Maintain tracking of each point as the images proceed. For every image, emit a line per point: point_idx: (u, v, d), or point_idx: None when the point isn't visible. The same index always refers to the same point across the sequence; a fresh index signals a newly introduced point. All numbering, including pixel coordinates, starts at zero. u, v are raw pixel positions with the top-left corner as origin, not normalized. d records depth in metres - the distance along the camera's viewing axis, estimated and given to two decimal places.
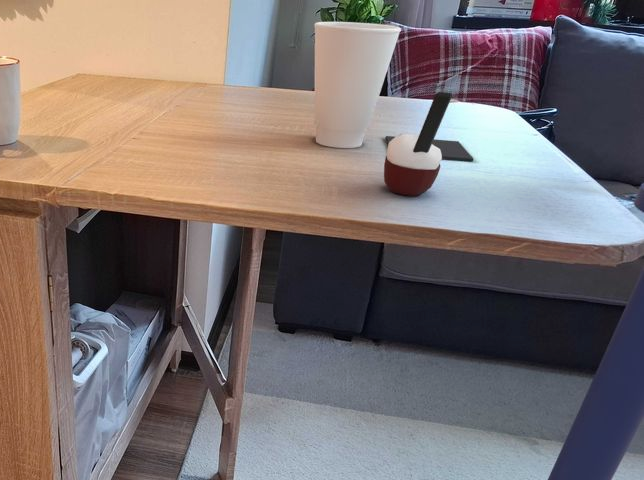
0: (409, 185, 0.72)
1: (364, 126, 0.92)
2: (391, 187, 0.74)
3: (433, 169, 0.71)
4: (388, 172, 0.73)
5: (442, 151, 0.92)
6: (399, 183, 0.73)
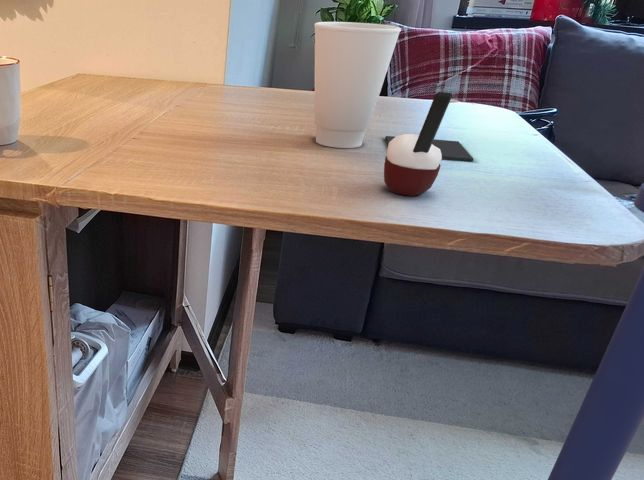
0: (409, 185, 0.72)
1: (364, 126, 0.92)
2: (391, 187, 0.74)
3: (433, 169, 0.71)
4: (388, 172, 0.73)
5: (442, 151, 0.92)
6: (399, 183, 0.73)
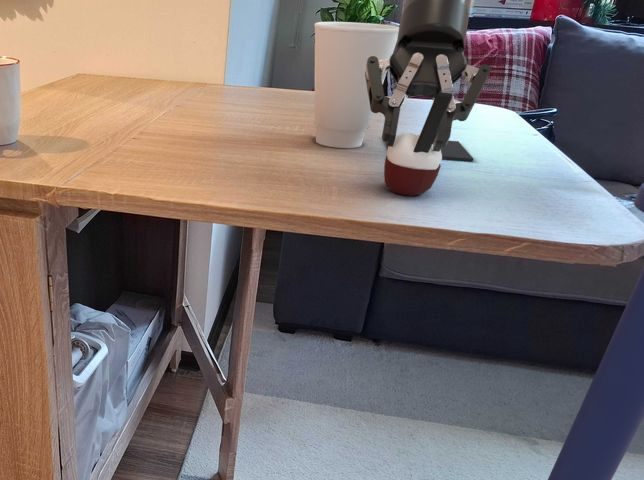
0: (409, 185, 0.72)
1: (364, 126, 0.92)
2: (391, 187, 0.74)
3: (433, 169, 0.71)
4: (389, 172, 0.73)
5: (442, 151, 0.92)
6: (399, 183, 0.73)
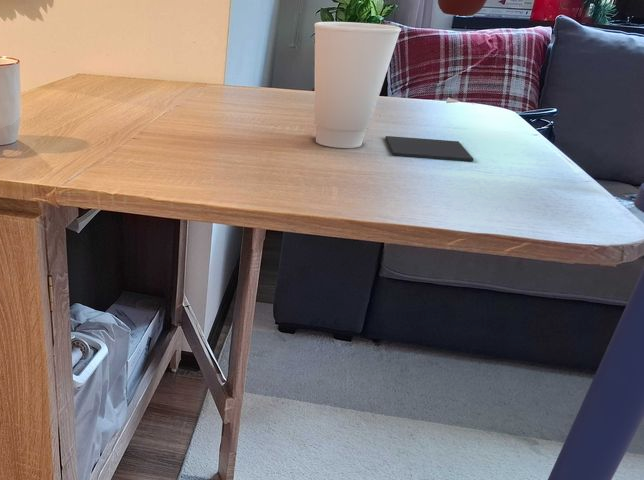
0: (464, 2, 0.77)
1: (364, 126, 0.92)
2: (446, 8, 0.79)
3: None
4: None
5: (442, 151, 0.92)
6: (454, 1, 0.78)
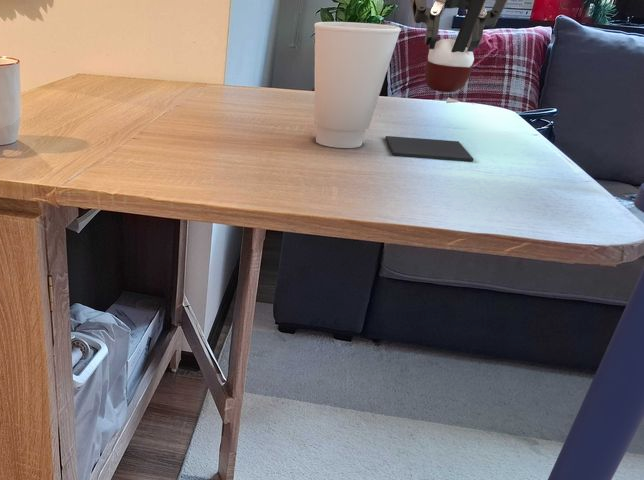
0: (447, 81, 0.88)
1: (364, 126, 0.92)
2: (432, 85, 0.89)
3: (468, 67, 0.87)
4: (430, 71, 0.88)
5: (442, 151, 0.92)
6: (439, 80, 0.88)
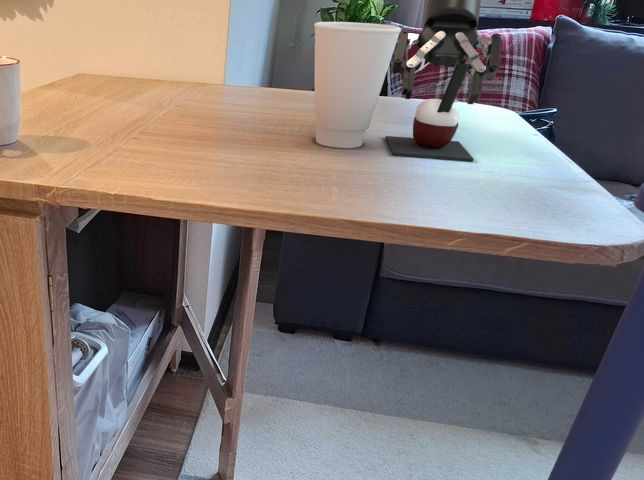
0: (433, 139, 0.92)
1: (364, 126, 0.92)
2: (419, 141, 0.93)
3: (453, 126, 0.91)
4: (417, 129, 0.92)
5: (442, 151, 0.92)
6: (425, 137, 0.92)
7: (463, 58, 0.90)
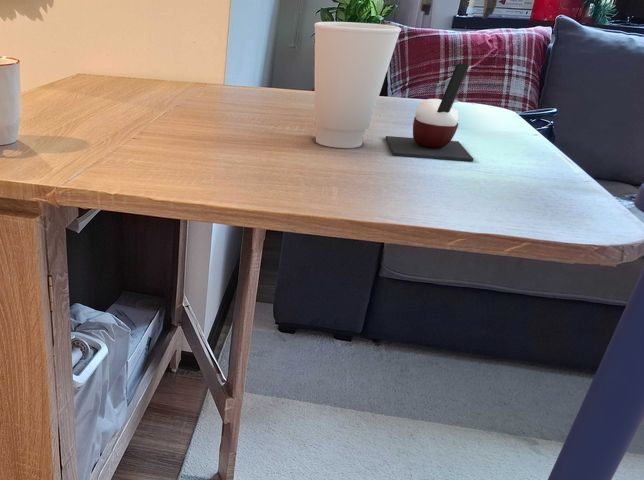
0: (433, 139, 0.92)
1: (364, 126, 0.92)
2: (419, 141, 0.93)
3: (453, 126, 0.91)
4: (417, 129, 0.92)
5: (442, 151, 0.92)
6: (425, 137, 0.92)
7: None
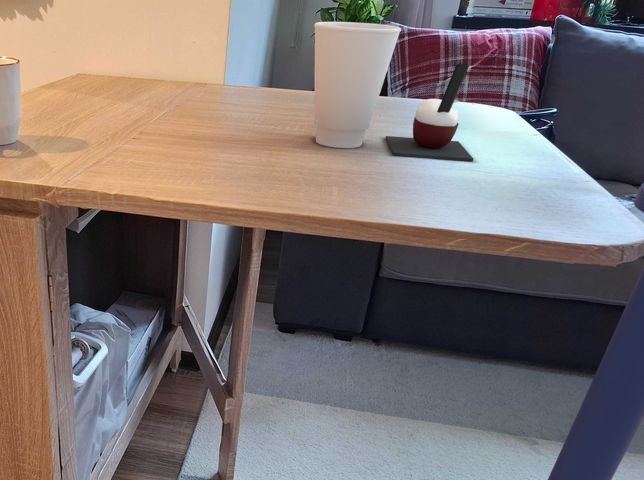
0: (433, 139, 0.92)
1: (364, 126, 0.92)
2: (419, 141, 0.93)
3: (453, 126, 0.91)
4: (417, 129, 0.92)
5: (442, 151, 0.92)
6: (425, 137, 0.92)
7: None
